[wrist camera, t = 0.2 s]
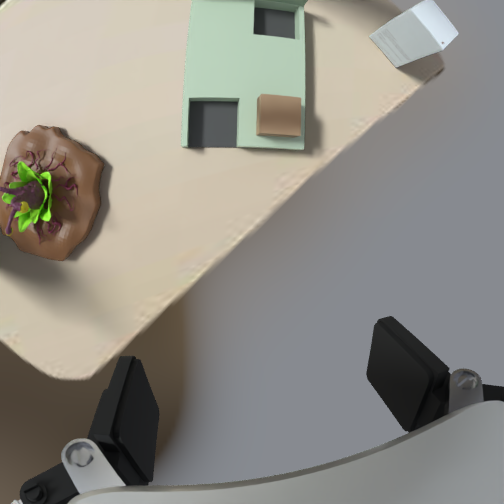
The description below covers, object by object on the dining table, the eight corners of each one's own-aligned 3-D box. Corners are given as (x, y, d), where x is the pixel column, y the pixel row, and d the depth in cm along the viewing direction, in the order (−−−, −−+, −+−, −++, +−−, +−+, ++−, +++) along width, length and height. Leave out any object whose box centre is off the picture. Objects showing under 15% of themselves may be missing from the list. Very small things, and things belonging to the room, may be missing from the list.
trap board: (193, 1, 30) (192, -17, 25) (298, 9, 32) (309, -7, 27) (182, 147, 37) (178, 144, 31) (298, 150, 39) (311, 148, 34)
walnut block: (257, 98, 34) (261, 93, 31) (294, 102, 35) (301, 97, 32) (256, 135, 35) (260, 132, 32) (293, 137, 36) (300, 135, 33)
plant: (83, 274, 40) (52, 306, 29) (-3, 231, 35) (-42, 249, 24) (121, 148, 36) (91, 144, 25) (25, 116, 31) (-17, 109, 20)
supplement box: (414, 51, 36) (461, 34, 24) (395, 68, 37) (443, 51, 25) (388, 20, 34) (430, -5, 22) (366, 35, 35) (410, 8, 23)
